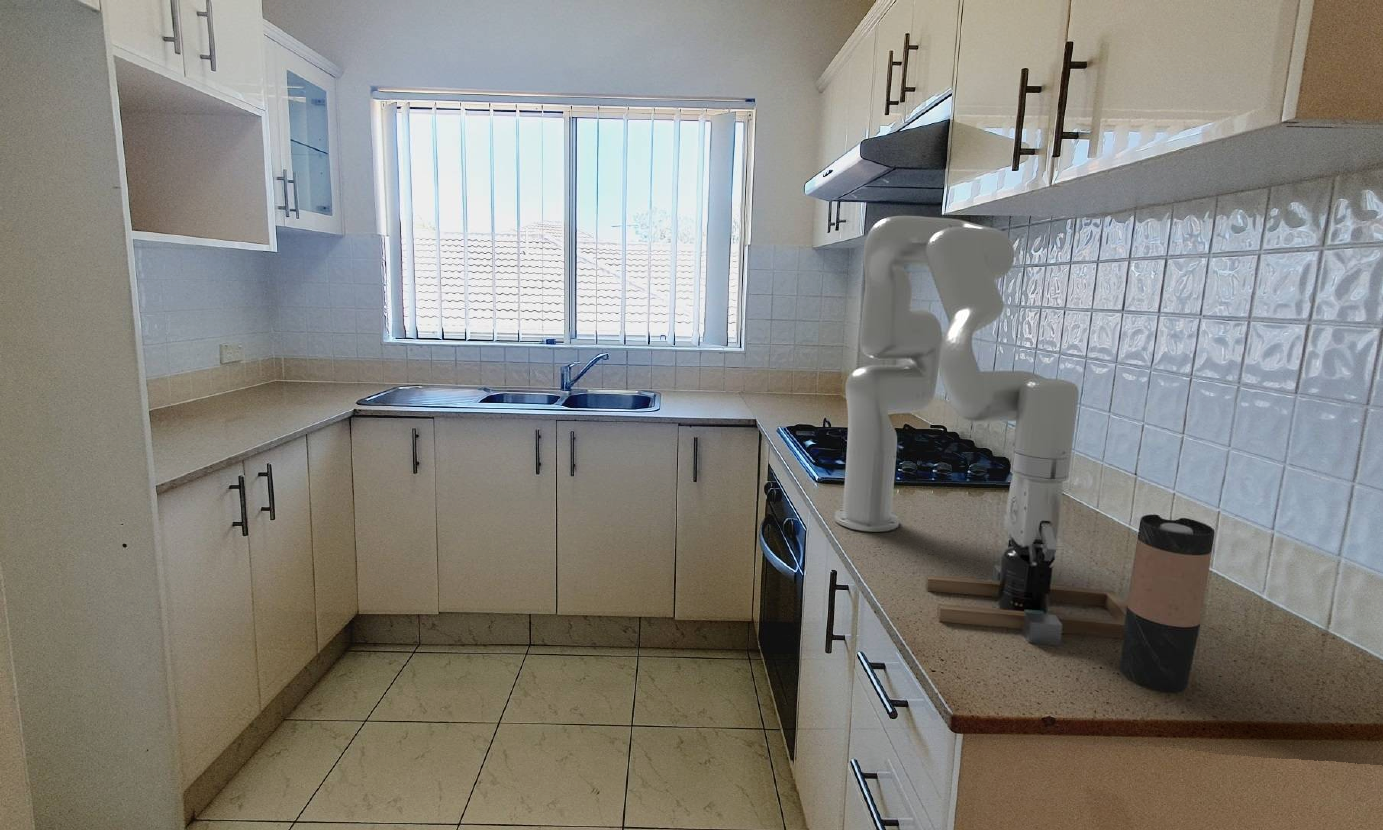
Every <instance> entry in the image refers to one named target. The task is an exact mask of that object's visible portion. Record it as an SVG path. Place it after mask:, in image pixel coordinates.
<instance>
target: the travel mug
mask: <svg viewBox="0 0 1383 830" xmlns="http://www.w3.org/2000/svg"><path fill="white" fill-rule="evenodd" d="M1215 534H1216V532H1215V530H1214V528H1213V527H1211V526H1210V525H1208V524H1206V523H1203V522H1201V521H1198V520H1194V519H1192V518H1191V519H1190V518H1186V517H1181V518H1178V519H1166V518H1162V517H1161V516H1160V515H1158V514H1154V513H1153V514H1145V515H1143V516H1141V518H1140V520H1139V526H1138V533H1137V539H1136V543H1135V545H1136V546H1135V551H1134V557H1133V564H1132V570H1131V578H1130V582H1129V589H1128V593H1127V600H1126V605H1127V607H1126V617H1125V626H1124V635H1123V638H1122V646H1121V652H1120V666H1119V667H1120V671H1121V674H1122V675H1123V676H1124V677H1125V678H1126V679H1128V681H1131V682H1133V683H1135V684H1136V685H1139V686H1142V687H1143V688H1146V689H1150V690H1153V691H1157V692H1163V693H1170V694H1171V693H1172V694H1173V693H1180V692H1183V691H1185V690H1186V689H1187V687H1188V683H1189V678H1190V675H1191V670H1192V665H1193V661H1194V655H1195V651H1196V647H1197V646H1196V645H1197V642H1198V637H1199V632H1200V628H1201V622H1202V615H1203V611H1204V603H1205V599H1206V597H1205V596H1206V591H1207V584H1208V577H1209V572H1210V571H1209V570H1210V567H1211V566H1210V565H1211V561H1212V551H1213V547H1214V540H1215Z"/></svg>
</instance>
